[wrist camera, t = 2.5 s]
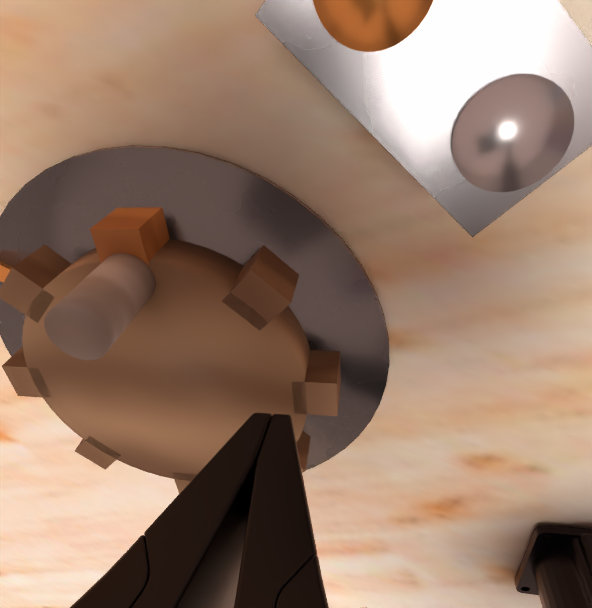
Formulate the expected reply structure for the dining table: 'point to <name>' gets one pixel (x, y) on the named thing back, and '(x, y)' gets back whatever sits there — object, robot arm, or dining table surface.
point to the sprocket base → (225, 240)
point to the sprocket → (163, 346)
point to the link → (453, 88)
